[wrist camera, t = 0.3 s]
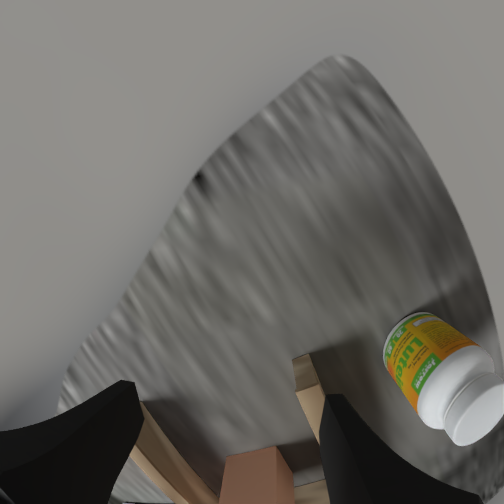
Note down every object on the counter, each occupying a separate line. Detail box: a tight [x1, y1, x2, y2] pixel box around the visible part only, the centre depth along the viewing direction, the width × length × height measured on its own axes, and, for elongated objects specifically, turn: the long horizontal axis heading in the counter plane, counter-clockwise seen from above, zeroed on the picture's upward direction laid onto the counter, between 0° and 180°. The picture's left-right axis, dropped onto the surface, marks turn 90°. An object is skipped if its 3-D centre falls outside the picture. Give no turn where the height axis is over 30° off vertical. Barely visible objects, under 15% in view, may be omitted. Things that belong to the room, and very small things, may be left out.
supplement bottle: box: [383, 312, 504, 446], centre depth 14 cm, size 5×5×10 cm
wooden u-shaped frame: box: [129, 354, 330, 504], centre depth 18 cm, size 15×16×4 cm
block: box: [219, 446, 295, 504], centre depth 17 cm, size 4×4×7 cm
